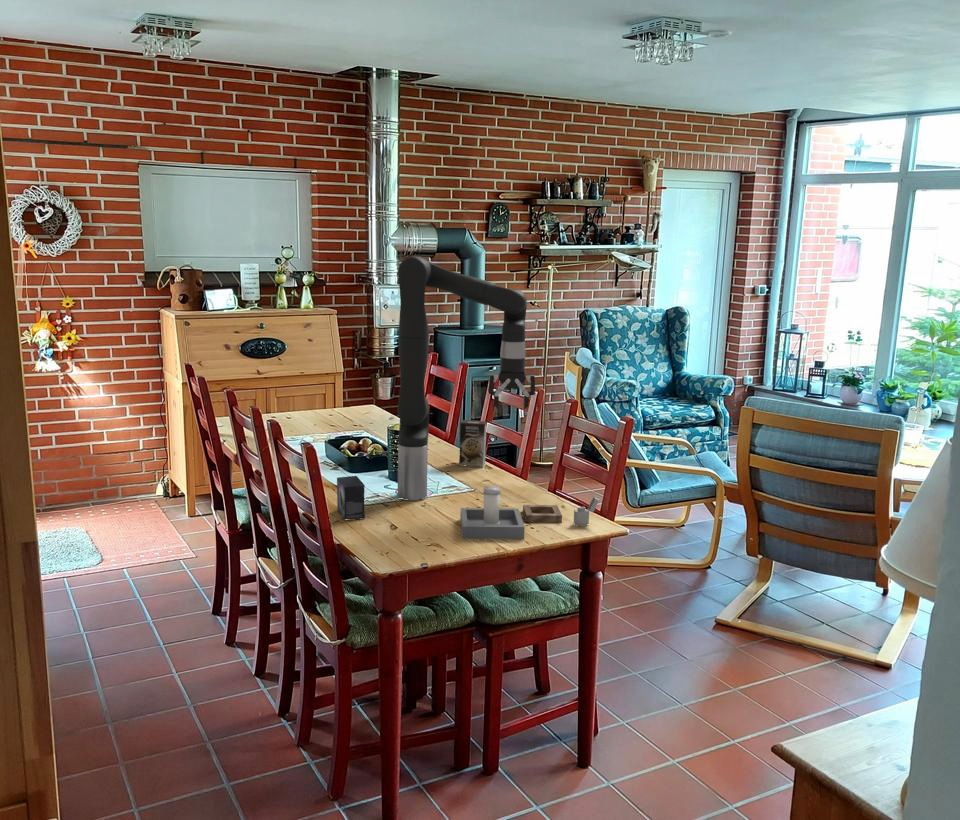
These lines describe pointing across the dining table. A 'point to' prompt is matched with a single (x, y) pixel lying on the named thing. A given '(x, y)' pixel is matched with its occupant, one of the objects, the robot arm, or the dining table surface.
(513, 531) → the parts tray
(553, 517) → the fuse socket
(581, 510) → the lighter
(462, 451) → the coffee box
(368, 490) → the dining table surface
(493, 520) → the fuse
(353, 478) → the small box
